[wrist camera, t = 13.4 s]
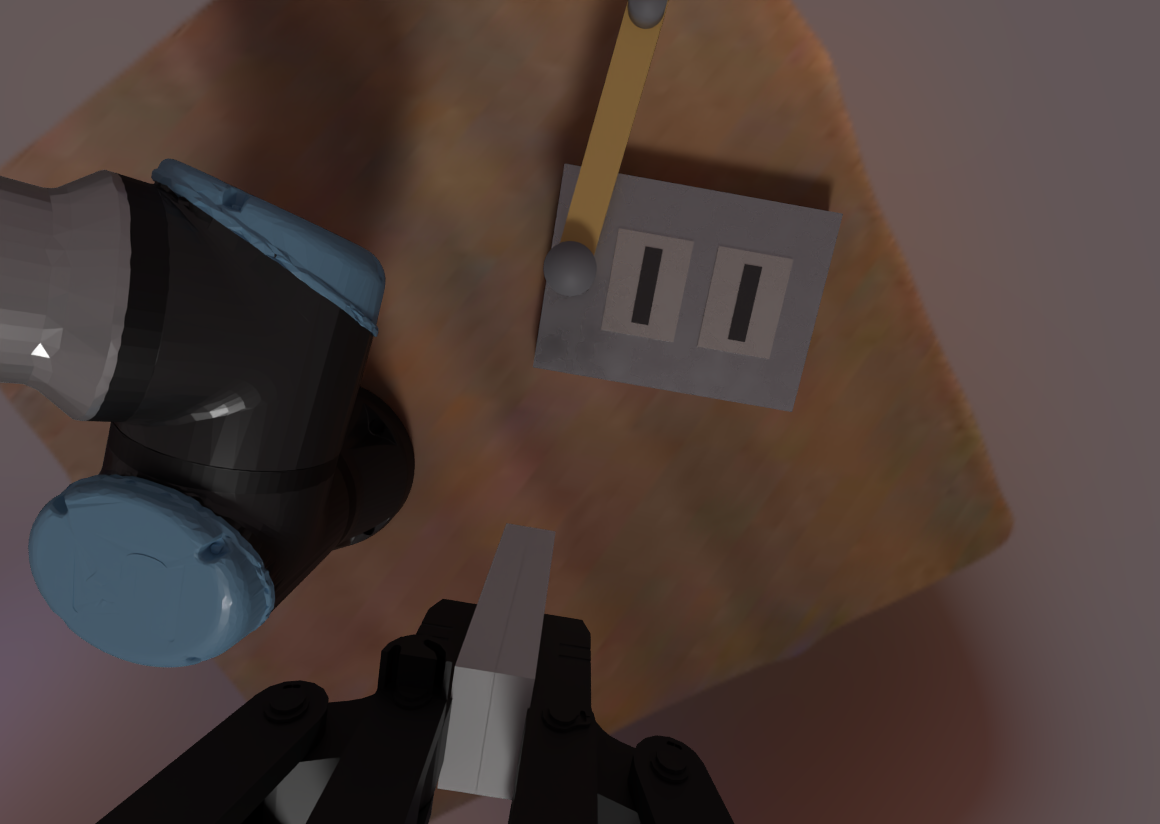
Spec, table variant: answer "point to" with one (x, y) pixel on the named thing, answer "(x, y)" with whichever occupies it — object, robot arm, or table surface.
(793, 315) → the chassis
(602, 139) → the yellow wooden bar
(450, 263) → the table surface
